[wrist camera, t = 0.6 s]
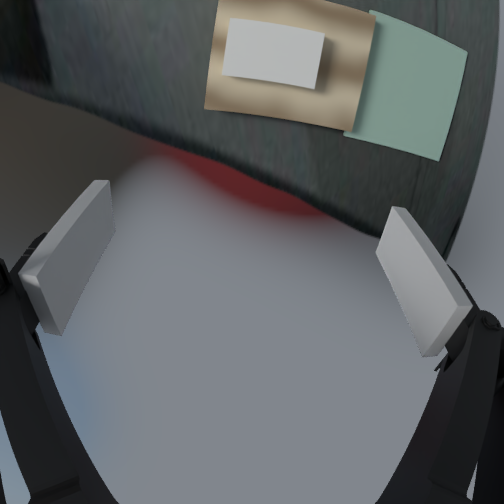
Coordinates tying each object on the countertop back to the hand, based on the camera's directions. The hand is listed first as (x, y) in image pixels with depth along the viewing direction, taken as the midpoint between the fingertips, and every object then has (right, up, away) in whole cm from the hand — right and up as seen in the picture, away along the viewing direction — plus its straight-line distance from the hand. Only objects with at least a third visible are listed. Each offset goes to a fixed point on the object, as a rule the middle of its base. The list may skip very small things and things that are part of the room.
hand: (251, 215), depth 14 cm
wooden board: (+4, +19, +15) cm, 25 cm away
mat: (+19, +18, +17) cm, 31 cm away
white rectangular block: (+2, +18, +13) cm, 23 cm away
